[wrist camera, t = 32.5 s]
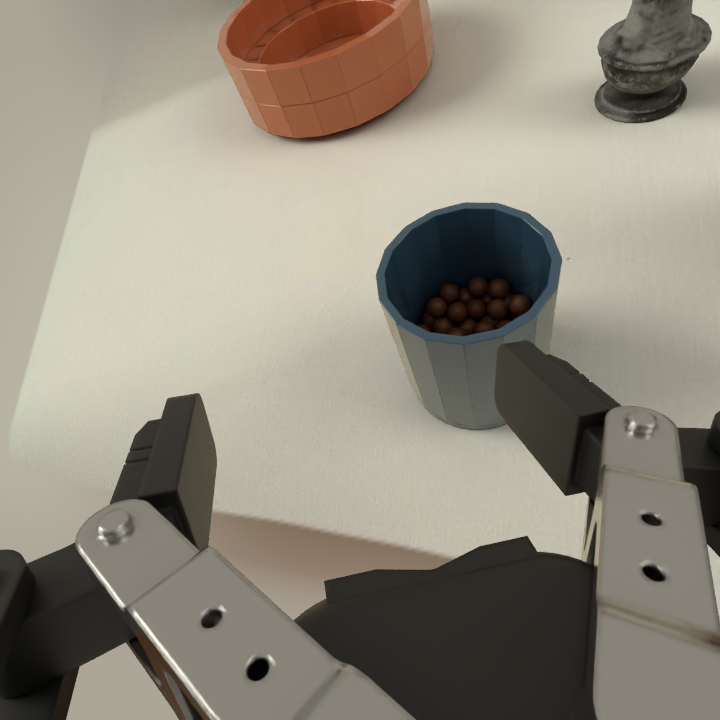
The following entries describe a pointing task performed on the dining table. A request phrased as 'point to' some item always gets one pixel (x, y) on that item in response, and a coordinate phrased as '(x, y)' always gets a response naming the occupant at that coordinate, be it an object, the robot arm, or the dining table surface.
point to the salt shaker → (649, 59)
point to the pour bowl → (325, 60)
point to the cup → (458, 266)
